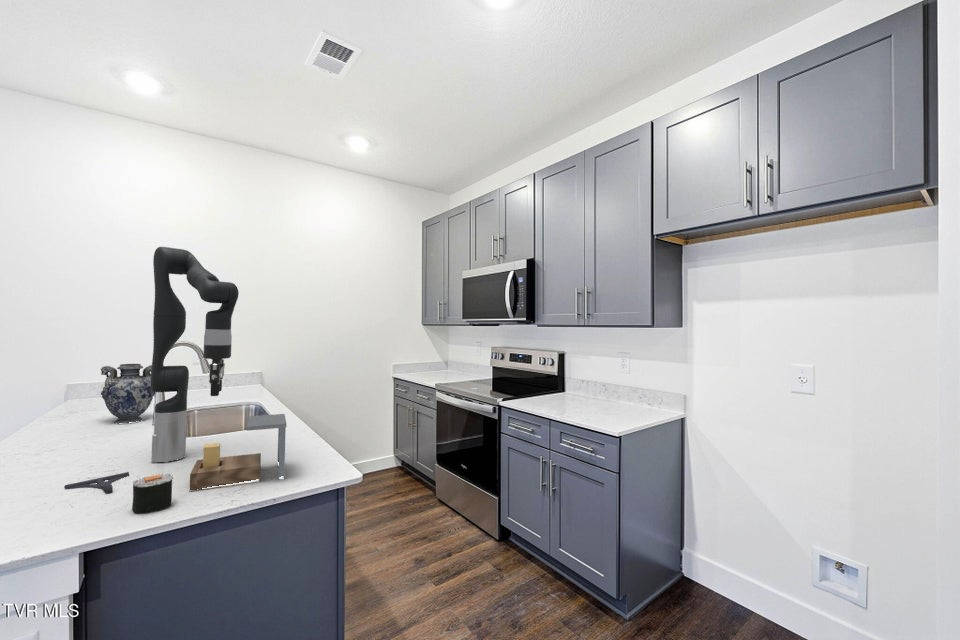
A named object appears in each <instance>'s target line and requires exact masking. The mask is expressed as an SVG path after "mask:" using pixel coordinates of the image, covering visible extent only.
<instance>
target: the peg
mask: <svg viewBox="0 0 960 640" xmlns="http://www.w3.org/2000/svg"><path fill="white" fill-rule="evenodd" d="M202 455H203V456H202V459H203V468H210V467H219V466H220V457H221V442H216V443H206V444H204V446H203V452H202Z"/></svg>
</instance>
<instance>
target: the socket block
mask: <svg viewBox="0 0 960 640" xmlns="http://www.w3.org/2000/svg"><path fill="white" fill-rule="evenodd" d="M261 459H262V453H261V452H258V453H250V454H241V455H230V456H220V466H219V467H210V468H203V458H202V459H197V460H196V462H194V463H195V464H194V466H193V467H192V469H191V471H190V474H189V491H190V490H196V491H198V490H197V489H202V488H207V487H212V486H219V485H226V484H233V483H239V482H244V481H251V480H256V479H260V480H261V462H262V460H261Z"/></svg>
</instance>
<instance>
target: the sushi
mask: <svg viewBox="0 0 960 640" xmlns="http://www.w3.org/2000/svg"><path fill="white" fill-rule="evenodd" d="M173 480H174V475H172V474H171V473H161V474H160V473H156V474H152V475H150V476H144V477H141V478H138V479H135V480H132V507H131V511H132V513H134V514H135V515H143V514H144V515H145V514H150V513H154V512H155V513H156V512H159V511H163V510H166V509H167V508H168V509H169V508H170V507H171V506H172V496H173V495H172V494H173V493H172V492H173Z"/></svg>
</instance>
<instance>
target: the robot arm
mask: <svg viewBox="0 0 960 640" xmlns="http://www.w3.org/2000/svg"><path fill="white" fill-rule="evenodd" d="M152 260H153V278H154V305H153V306H154V307H153V321H152V322H153V324H152V326H153V330H152V331H153V332H152V333H153V347H152V348H153V351H152V361H151V365H152V369H151V372H150V374H151V380H150V384H151V389H152V391H153V392H155V393H170V392H173V393H174V392H176V394H175V395H174V396H172V397H170V398H168V399H165V400H161V401H159V402H157V403H156V404H155V405H154V424H153V425H154V427H153V434H152V438H151V458H150V459H151V462H150V463H153V462H154V463H157V462H165V463H169V462H168V461H172V462H174V461H173V460H177V459H180V460H182V459H181V458H183V457H184V456H185V457H186V453H187V452H186V446H187V445H186V444H187V443H186V442H187V415H188V414H187V413H188V411H187V410H188V389H189V379H190V378H189V377H190V371H189V368H188V367H187V365H164V361H165V359H166V357H167V355H168V354H169V352H170V351H171V349H172V348H173V346H174V345H175V344H176V343H177V342H178V341H179V340H180V338H181V336H183V334H184V332H185V331H186V326H187V325H186V324H187V322H186V321H187V317H186V316H187V311H186V308H185V307H184V305H183V303H182V302H181V300H180V299H179V297H178V296H177V294H175V292H174V289H173V288H172V286H171V281H170V280H171V279H170V275H182V276H183V275H186V280H187V282H188V284H189V285H190V286H191V287H192V288H193V289H195V290H197V293H198V294H199V297H200V299H201V300H202V301H203V302H206V303H210V304H221V305H220V307H219V308H218V309H215V310H210V311H209V310H208V311H207V313H205V323H204V324H205V325H204V326H205V327H204V335H203V358H204V359H207V360H209V359H210V360H211V363H210V364H209V365H208V371H209V373H208V377H209V380H208V382H209V385H210V393H209V394H210V395H209V396H210V397H218V396H220V392H221V391H222V388H223V387H222V386H223V385H222V384H223V379H224V375H225V366H226V363H224V362H225V359H230V358H231V357H232V340H233V339H232V337H233V336H232V318H233V317H232V316H233V313H234V310H235V307H236V306H237V305H236V304H237V301H238V298H239V292H240V291H239V289H238V286H237V285H236V283H233V282H229V281H228V282H227V281H220V280H219V278H218V277H217V276H216V275H215V274H213V273H212V272H210V271H209V270H207V269H206V268H205V267H204V266H203V265H202V263H201V262H200V261H199V260H198V259H197V258H196V256H195V255H194V254H193V253H192V252H191V251H189V250H186V249H183V248H174V247H169V246H158V247H157V248H156V249H155V250H154V253H153V259H152ZM185 457H184V458H185ZM184 458H183V459H184ZM177 461H178V460H177Z"/></svg>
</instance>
